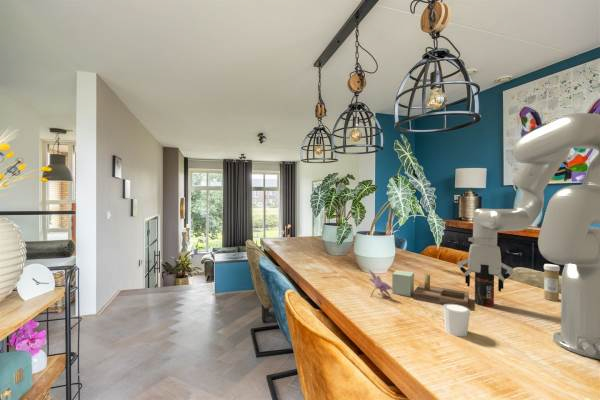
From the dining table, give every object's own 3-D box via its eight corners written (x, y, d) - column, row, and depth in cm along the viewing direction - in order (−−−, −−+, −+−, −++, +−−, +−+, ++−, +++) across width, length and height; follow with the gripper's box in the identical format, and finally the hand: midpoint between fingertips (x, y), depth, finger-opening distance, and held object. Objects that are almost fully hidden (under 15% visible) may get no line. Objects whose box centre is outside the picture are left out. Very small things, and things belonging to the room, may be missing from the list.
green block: (410, 296, 111) (410, 276, 110) (392, 293, 114) (392, 273, 114) (413, 291, 116) (414, 272, 116) (396, 288, 120) (396, 270, 120)
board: (467, 309, 98) (467, 285, 98) (413, 298, 108) (413, 277, 108) (468, 298, 109) (469, 276, 109) (419, 289, 119) (419, 270, 119)
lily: (392, 306, 103) (401, 281, 106) (362, 292, 105) (371, 268, 107) (383, 304, 115) (391, 282, 117) (356, 291, 116) (364, 270, 119)
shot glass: (445, 324, 86) (445, 301, 86) (471, 331, 82) (471, 307, 82) (440, 332, 81) (440, 308, 81) (467, 340, 76) (467, 314, 76)
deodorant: (485, 307, 100) (485, 265, 100) (470, 301, 106) (471, 262, 106) (497, 306, 101) (498, 264, 101) (483, 300, 107) (483, 261, 107)
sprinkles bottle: (560, 300, 108) (561, 265, 108) (557, 302, 106) (557, 266, 106) (545, 296, 112) (546, 263, 112) (541, 298, 110) (542, 264, 110)
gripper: (457, 240, 105) (456, 286, 105) (515, 245, 96) (513, 295, 96) (458, 238, 111) (457, 281, 112) (513, 243, 102) (511, 289, 102)
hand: (483, 287), depth 104 cm, fingers open, 9 cm apart
